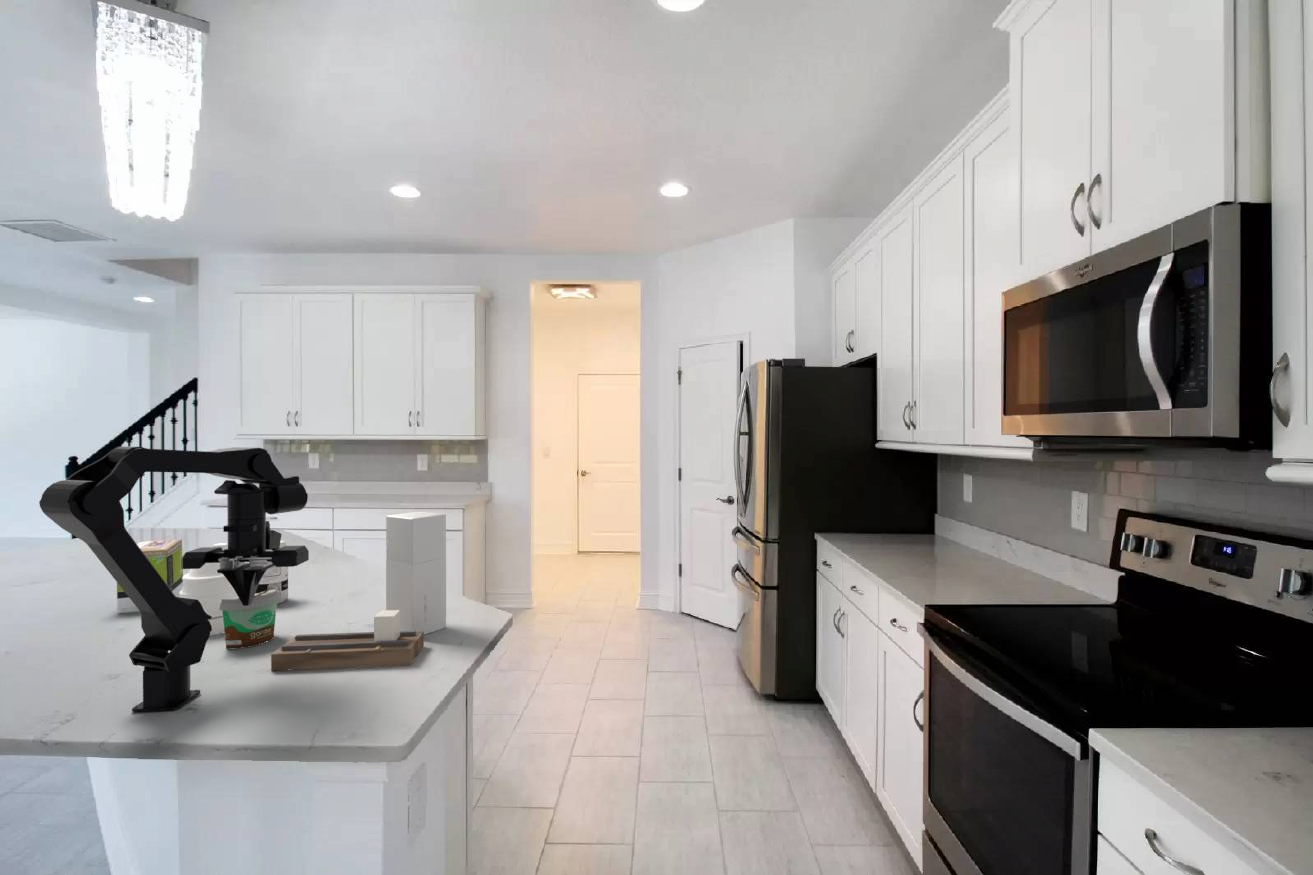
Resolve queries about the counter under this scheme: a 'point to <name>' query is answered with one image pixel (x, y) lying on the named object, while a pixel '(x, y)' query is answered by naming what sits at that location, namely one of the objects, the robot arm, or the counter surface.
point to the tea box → (158, 569)
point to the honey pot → (209, 591)
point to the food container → (250, 619)
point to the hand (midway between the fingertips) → (247, 605)
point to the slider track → (346, 651)
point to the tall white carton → (417, 570)
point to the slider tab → (387, 625)
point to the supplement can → (275, 579)
